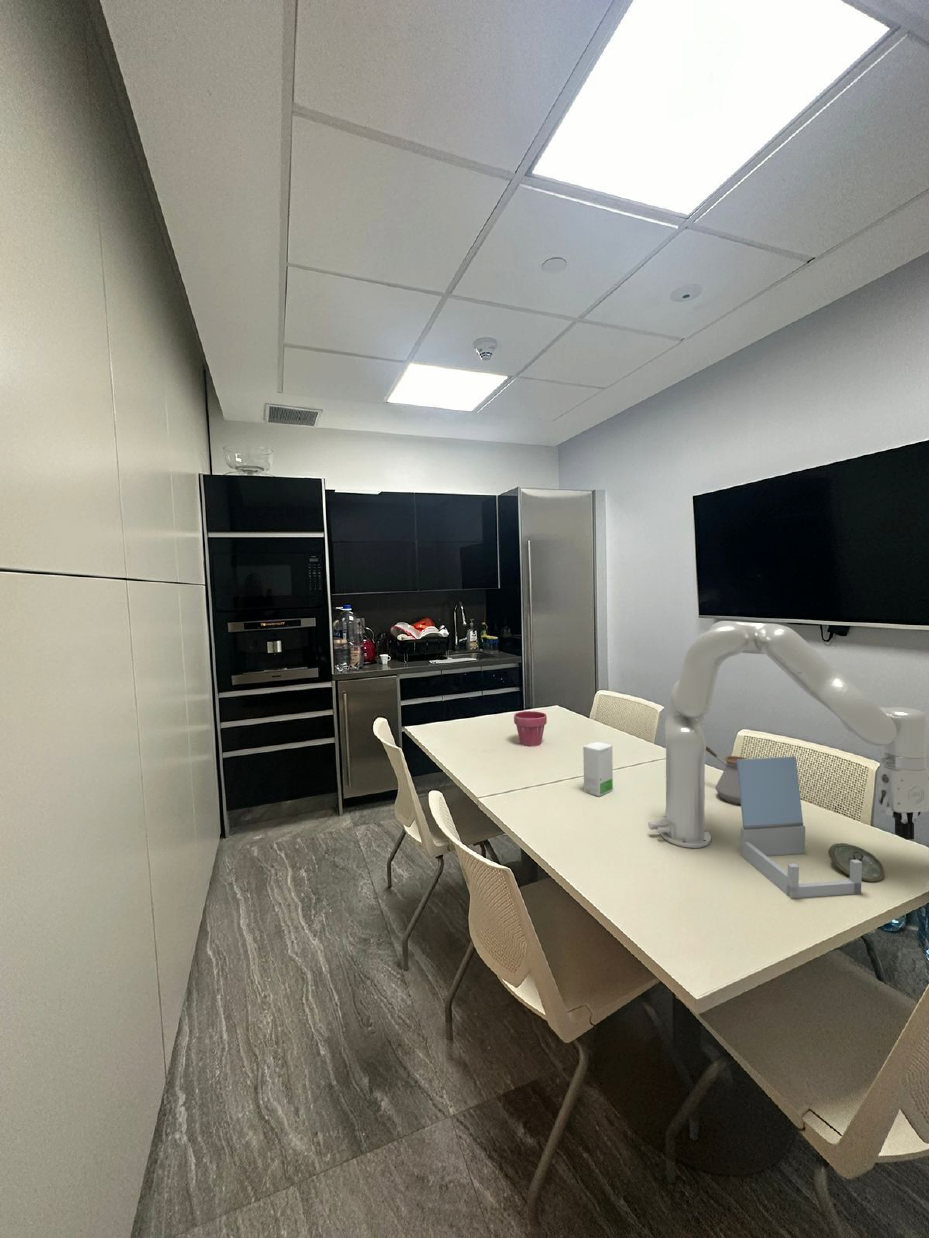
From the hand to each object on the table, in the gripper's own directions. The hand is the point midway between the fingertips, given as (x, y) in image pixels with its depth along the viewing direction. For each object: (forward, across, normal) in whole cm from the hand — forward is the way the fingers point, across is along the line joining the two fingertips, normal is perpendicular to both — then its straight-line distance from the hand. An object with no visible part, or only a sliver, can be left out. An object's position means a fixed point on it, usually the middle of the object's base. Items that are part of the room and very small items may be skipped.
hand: (904, 836), depth 116 cm
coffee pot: (+7, -18, +44) cm, 48 cm away
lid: (+7, -12, 0) cm, 14 cm away
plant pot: (+5, -69, +104) cm, 125 cm away
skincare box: (+6, -57, +51) cm, 77 cm away
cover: (-9, -26, +9) cm, 29 cm away
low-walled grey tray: (+7, -27, 0) cm, 28 cm away
